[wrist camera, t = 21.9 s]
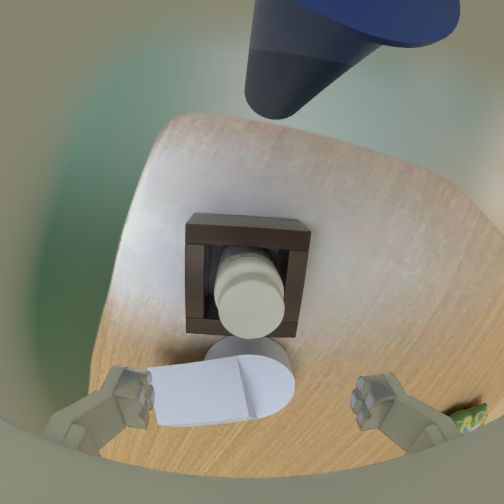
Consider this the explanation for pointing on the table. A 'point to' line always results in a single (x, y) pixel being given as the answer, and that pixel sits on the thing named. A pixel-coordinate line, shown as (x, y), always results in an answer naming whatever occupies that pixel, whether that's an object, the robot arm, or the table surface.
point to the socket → (245, 235)
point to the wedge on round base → (224, 384)
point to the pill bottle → (248, 292)
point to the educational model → (470, 418)
